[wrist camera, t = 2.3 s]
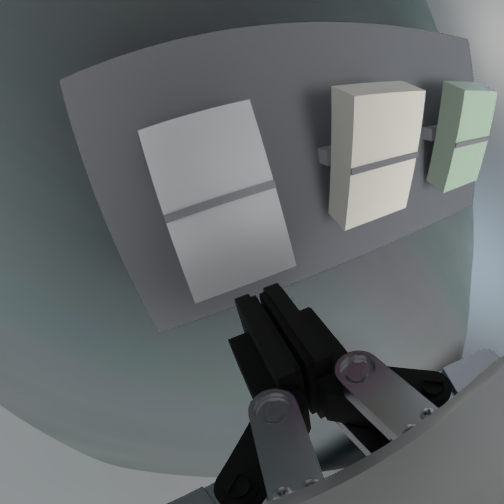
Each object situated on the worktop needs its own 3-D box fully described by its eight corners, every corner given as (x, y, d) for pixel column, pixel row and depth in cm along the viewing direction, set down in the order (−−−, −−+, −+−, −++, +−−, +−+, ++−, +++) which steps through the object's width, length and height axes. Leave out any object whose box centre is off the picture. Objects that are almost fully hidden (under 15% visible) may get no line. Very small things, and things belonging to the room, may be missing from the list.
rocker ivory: (331, 86, 11) (355, 96, 10) (402, 80, 12) (427, 91, 11) (328, 213, 16) (345, 232, 15) (388, 192, 17) (407, 208, 16)
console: (84, 88, 15) (54, 78, 9) (414, 40, 19) (476, 39, 14) (154, 284, 22) (162, 347, 16) (425, 187, 27) (478, 212, 21)
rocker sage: (443, 80, 13) (466, 90, 12) (478, 82, 14) (498, 92, 13) (426, 180, 18) (444, 194, 17) (461, 168, 19) (477, 180, 18)
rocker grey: (141, 137, 12) (137, 130, 10) (240, 108, 13) (250, 98, 11) (192, 290, 14) (195, 304, 12) (283, 257, 14) (297, 266, 13)
